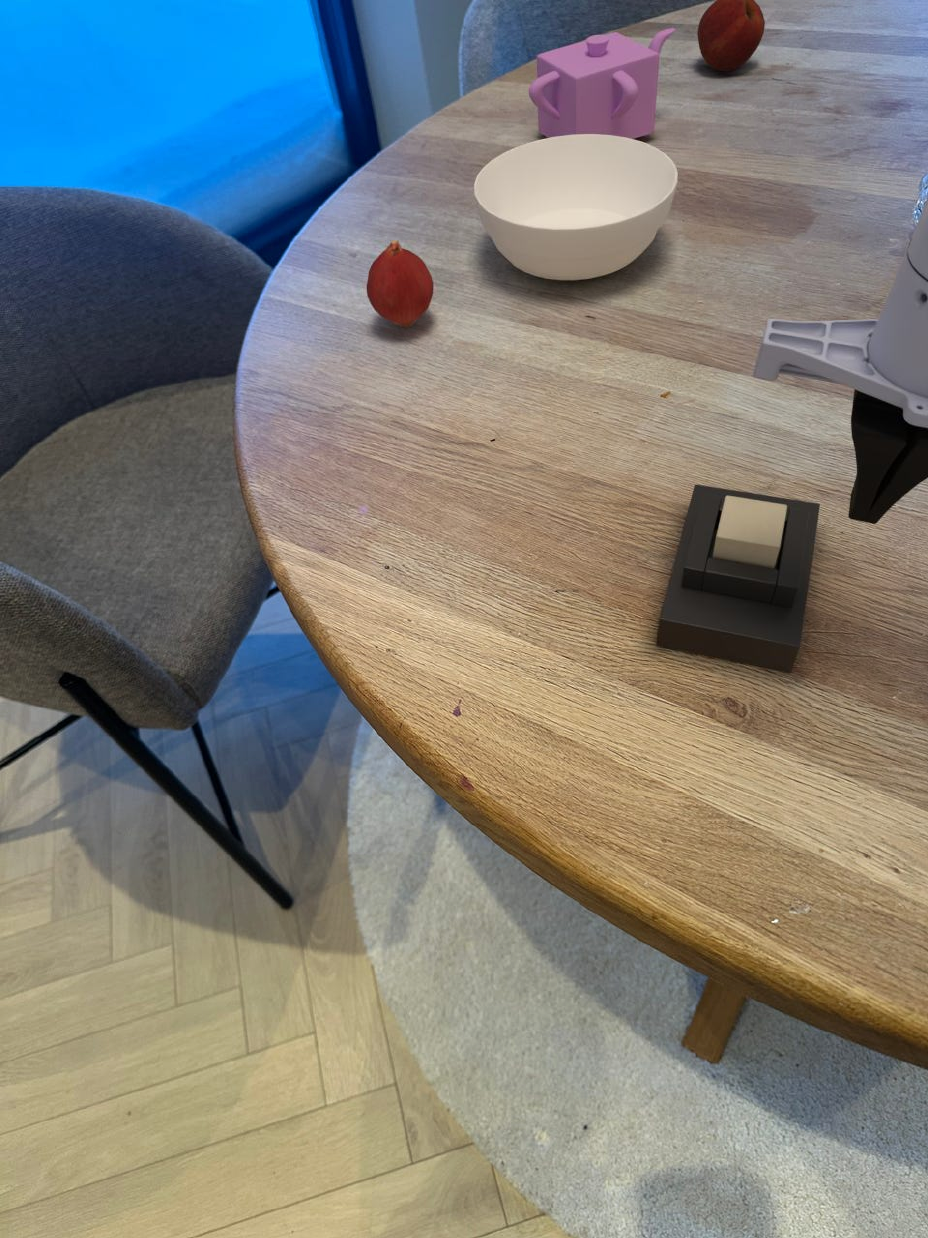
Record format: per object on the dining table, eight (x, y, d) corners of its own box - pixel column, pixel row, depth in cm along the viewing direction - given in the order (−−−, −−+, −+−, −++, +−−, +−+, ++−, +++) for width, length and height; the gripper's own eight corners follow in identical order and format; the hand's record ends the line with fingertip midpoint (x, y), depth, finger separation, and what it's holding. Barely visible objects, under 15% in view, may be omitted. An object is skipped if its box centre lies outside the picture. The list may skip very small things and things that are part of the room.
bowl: (711, 246, 80) (721, 167, 75) (576, 331, 74) (576, 252, 68) (572, 191, 90) (572, 117, 84) (441, 262, 84) (432, 187, 78)
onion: (363, 336, 77) (344, 251, 71) (395, 302, 80) (380, 218, 74) (418, 349, 75) (404, 263, 69) (449, 314, 78) (438, 228, 72)
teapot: (637, 98, 103) (643, -1, 95) (705, 138, 95) (718, 33, 87) (505, 140, 99) (500, 40, 91) (564, 184, 91) (564, 79, 83)
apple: (730, 85, 103) (741, 7, 96) (679, 72, 107) (686, -4, 100) (768, 65, 105) (780, -13, 99) (717, 52, 109) (726, -23, 103)
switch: (721, 517, 53) (725, 494, 52) (781, 527, 52) (787, 504, 51) (712, 558, 51) (716, 536, 50) (774, 569, 50) (780, 547, 49)
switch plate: (690, 512, 59) (698, 463, 56) (810, 532, 57) (826, 482, 54) (655, 645, 53) (662, 599, 49) (790, 674, 50) (807, 627, 47)
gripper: (780, 288, 32) (709, 531, 43) (1212, 356, 29) (1018, 599, 40) (800, 199, 36) (730, 442, 47) (1183, 250, 33) (1013, 497, 44)
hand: (863, 508), depth 44 cm, fingers closed
